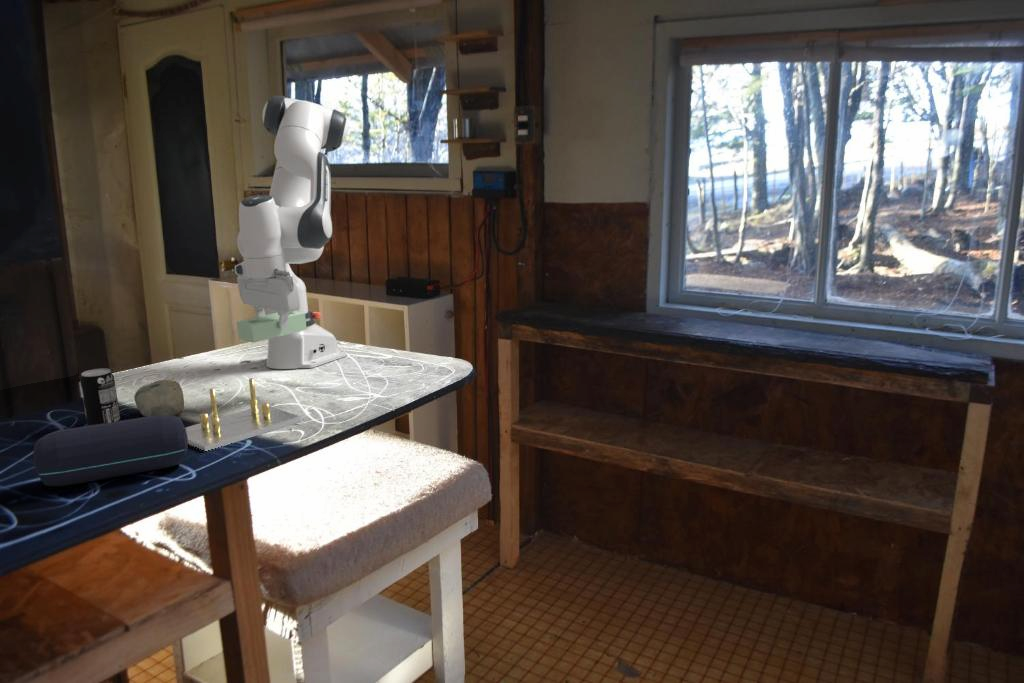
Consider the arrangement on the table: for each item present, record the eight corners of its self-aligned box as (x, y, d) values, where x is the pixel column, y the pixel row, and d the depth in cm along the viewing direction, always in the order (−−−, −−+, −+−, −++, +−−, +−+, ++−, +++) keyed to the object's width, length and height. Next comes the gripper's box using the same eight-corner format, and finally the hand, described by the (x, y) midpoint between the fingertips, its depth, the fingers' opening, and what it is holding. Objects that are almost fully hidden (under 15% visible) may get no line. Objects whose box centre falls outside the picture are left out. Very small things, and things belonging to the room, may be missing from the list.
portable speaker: (189, 453, 156) (182, 405, 154) (192, 471, 147) (185, 419, 145) (43, 479, 146) (33, 427, 144) (37, 499, 137) (26, 444, 135)
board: (291, 325, 193) (289, 309, 192) (306, 329, 189) (304, 313, 188) (238, 338, 183) (236, 321, 182) (253, 342, 179) (251, 325, 178)
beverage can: (89, 422, 177) (81, 370, 174) (122, 417, 179) (114, 366, 177) (85, 431, 171) (76, 377, 168) (119, 426, 173) (111, 373, 171)
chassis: (265, 409, 181) (260, 367, 179) (300, 421, 172) (296, 377, 170) (171, 437, 165) (165, 391, 163) (205, 451, 156) (198, 403, 154)
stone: (183, 386, 188) (179, 365, 180) (187, 425, 183) (182, 405, 175) (137, 393, 185) (130, 371, 177) (140, 432, 180) (132, 412, 172)
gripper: (303, 269, 177) (310, 329, 181) (254, 262, 191) (261, 318, 194) (278, 274, 173) (286, 335, 177) (230, 266, 186) (238, 323, 190)
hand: (273, 326), depth 186 cm, fingers closed on board, 6 cm apart
